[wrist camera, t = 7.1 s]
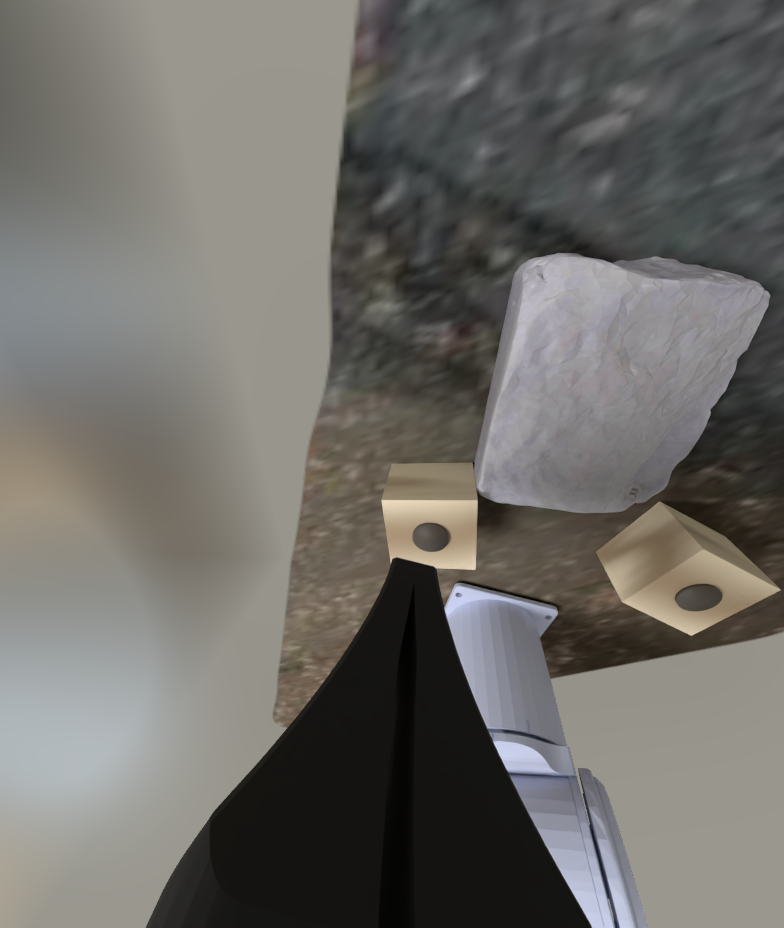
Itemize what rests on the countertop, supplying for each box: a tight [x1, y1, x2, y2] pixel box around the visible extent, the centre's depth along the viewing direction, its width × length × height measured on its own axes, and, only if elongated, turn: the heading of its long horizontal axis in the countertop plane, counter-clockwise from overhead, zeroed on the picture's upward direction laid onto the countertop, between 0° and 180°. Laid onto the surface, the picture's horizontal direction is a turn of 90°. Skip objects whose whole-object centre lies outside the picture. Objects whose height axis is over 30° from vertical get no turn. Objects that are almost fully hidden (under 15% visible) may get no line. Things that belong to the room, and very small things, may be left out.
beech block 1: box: [382, 463, 478, 570], centre depth 20 cm, size 5×5×4 cm
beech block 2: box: [596, 502, 781, 636], centre depth 19 cm, size 5×5×4 cm
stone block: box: [474, 253, 771, 513], centre depth 16 cm, size 12×5×10 cm
